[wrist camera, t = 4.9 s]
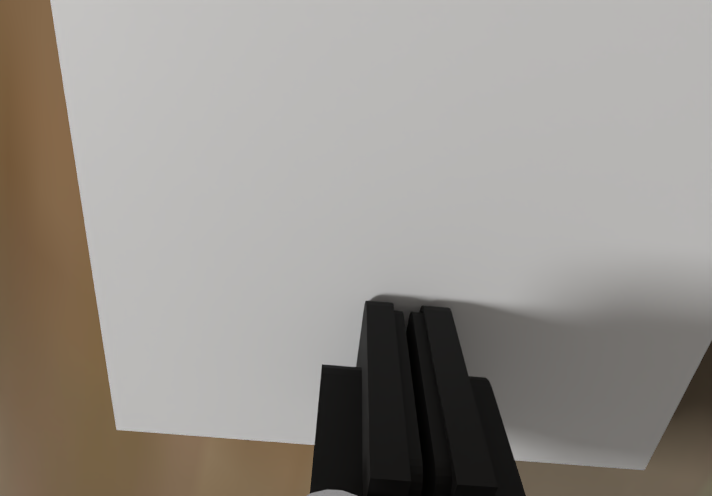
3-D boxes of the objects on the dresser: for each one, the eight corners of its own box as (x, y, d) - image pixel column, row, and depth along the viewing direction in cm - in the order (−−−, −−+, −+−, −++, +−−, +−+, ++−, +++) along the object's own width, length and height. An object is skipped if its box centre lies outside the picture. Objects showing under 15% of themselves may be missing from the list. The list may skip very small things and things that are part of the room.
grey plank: (6, -780, 5) (-109, -1023, 4) (1076, -597, 6) (1283, -764, 5) (141, 383, 13) (116, 429, 12) (616, 421, 13) (644, 470, 12)
